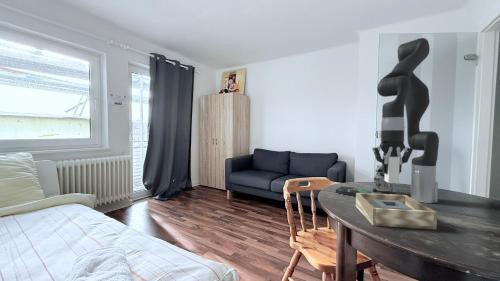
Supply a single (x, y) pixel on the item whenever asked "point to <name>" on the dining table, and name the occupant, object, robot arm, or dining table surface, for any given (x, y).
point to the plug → (392, 170)
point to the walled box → (396, 212)
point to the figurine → (381, 181)
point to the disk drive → (350, 191)
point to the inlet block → (389, 204)
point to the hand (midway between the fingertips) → (391, 173)
